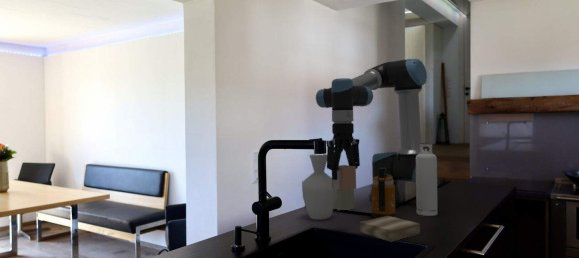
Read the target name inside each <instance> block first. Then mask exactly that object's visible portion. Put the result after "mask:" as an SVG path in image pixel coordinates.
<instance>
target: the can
mask: <svg viewBox="0 0 579 258" xmlns="http://www.w3.org/2000/svg"><path fill="white" fill-rule="evenodd" d="M354 208H355V189H353V190H347V191H340V190H337V196H336V200H335V205H334V208H333V210H335V209H337V210H336V211H340V210H349V211H351V210H350V209H353V210H355V209H354Z"/></svg>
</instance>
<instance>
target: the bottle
mask: <svg viewBox="0 0 579 258" xmlns="http://www.w3.org/2000/svg"><path fill="white" fill-rule="evenodd" d="M424 147H427V148H424ZM428 149H429V150H428ZM415 188H416V189H415V194H416V201H415V202H416V214H418V215H419V216H427V217H428V216H429V217H430V216H433V217H434V216H437V215H438V158H437V156H436V154H434V153H433V144H428V143H427V144H423V143H421V145H420V154H418V155H417V156H416V182H415Z"/></svg>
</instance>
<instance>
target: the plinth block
mask: <svg viewBox="0 0 579 258" xmlns="http://www.w3.org/2000/svg"><path fill="white" fill-rule="evenodd" d="M359 233H361V234H365V235H368V236H370V237H374V238H377V239H381V240H383V241H386V242H390V243H393V242H396V241H399V240H400V239H401V240H404V239H407V237H408V238H411V237H415V236H419V235H421V223H419V222H414V221H411V220H406V219H403V218H398V217H396V216H395V217H391V216H385V217H380V218H372V219H368V220H362V221H359ZM403 238H404V239H403ZM401 240H400V241H401Z"/></svg>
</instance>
